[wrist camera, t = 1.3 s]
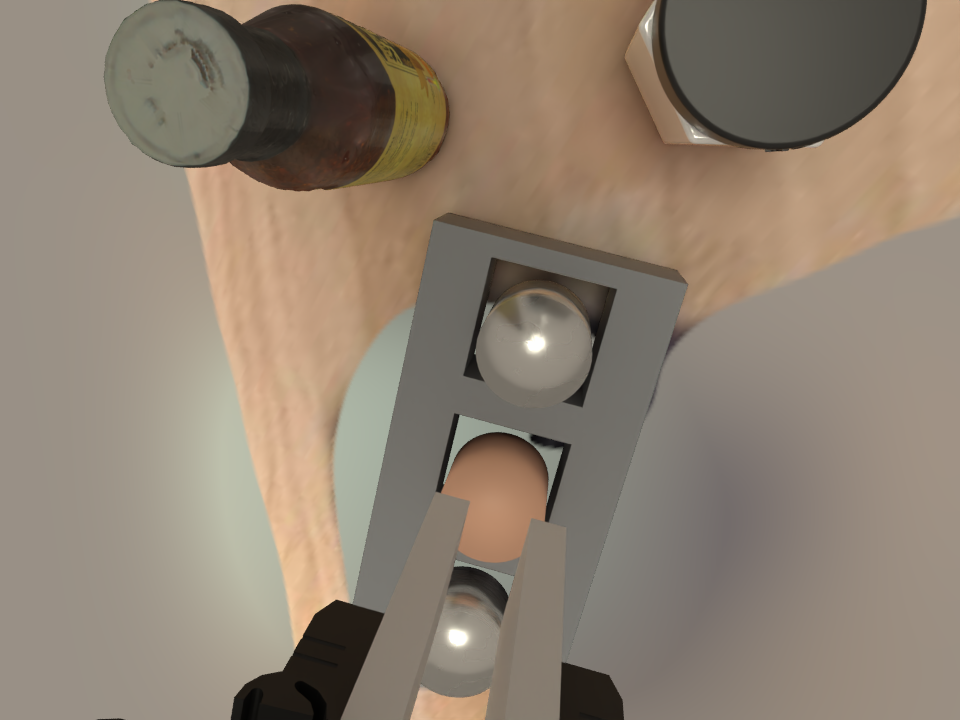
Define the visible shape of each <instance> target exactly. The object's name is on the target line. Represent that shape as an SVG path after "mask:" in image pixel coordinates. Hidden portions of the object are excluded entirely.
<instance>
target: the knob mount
mask: <svg viewBox="0 0 960 720" xmlns="http://www.w3.org/2000/svg"><path fill="white" fill-rule="evenodd" d="M497 259H501V260H505V261H509V262H513V263H517V264H521V265H524V266H528V267H532V268H536V269H540V270H544V271H548V272H552V273H556V274H560V275H564V276H568V277H572V278H576V279H580V280H583V281H587V282H591V283H595V284H599V285H603V286H607V287H610V289H609V293H608V296H607V299H606V303H605V306H604V310H603V313H602V317H601V320H600V324H599V327H598V330H597V334H596V337H595V341H594V344H593V348H592V362H591V367H590V370H589V373H588V375H587V377H586V379H585V381H584V383H583V384H582V385H581V387H580V388H579V389H578V390H577V391H576V392H575V393H574V394H573V395H572V396H571V397H569V398H568V399H566V400H564V401H563V402H561V403H558V404H556V405H553V406H550V407H545V408H525V407H520V406H517V405H514V404H511V403H509V402H507V401H505V400H504V399H502V398H500V397H499V396H498V395H497V394H495V393H494V392H493V391H492V390H491V389H490V388H489V387H488V385H487V384H486V382H485V381H484V379H483V377H482V376H481V373H480V371H479V368H478V364H477V360H476V354H474V353H475V349H476V344H477V338H478V335H479V332H480V328H481V324H482V320H483V315H484V311H485V307H486V303H487V299H488V295H489V290H490V286H491V282H492V278H493V274H494V270H495V266H496V261H497ZM687 286H688V284H687V282H686V281H685V280H684V279H683V277H682V276H681V275H680V273H679V272H678V271H677V270H674V269H670V268H666V267H662V266H658V265H654V264H650V263H646V262H642V261H638V260H634V259H630V258H626V257H622V256H618V255H614V254H610V253H606V252H602V251H598V250H594V249H590V248H586V247H582V246H578V245H574V244H570V243H566V242H562V241H558V240H554V239H551V238H547V237H543V236H539V235H535V234H531V233H527V232H523V231H519V230H515V229H511V228H507V227H503V226H499V225H495V224H491V223H487V222H483V221H479V220H475V219H471V218H467V217H463V216H459V215H455V214H451V213H447V214H445V215H443V216H441V217H439V218H437V219H435V220H434V221H433V226H432V231H431V236H430V240H429V245H428V250H427V255H426V259H425V264H424V269H423V273H422V278H421V283H420V288H419V292H418V297H417V302H416V307H415V312H414V316H413V321H412V326H411V330H410V336H409V340H408V345H407V349H406V354H405V360H404V364H403V368H402V373H401V378H400V382H399V387H398V393H397V397H396V402H395V406H394V411H393V416H392V420H391V425H390V430H389V435H388V439H387V444H386V449H385V454H384V458H383V463H382V468H381V473H380V478H379V482H378V487H377V492H376V496H375V501H374V506H373V511H372V516H371V520H370V525H369V529H368V534H367V539H366V544H365V548H364V553H363V558H362V563H361V567H360V572H359V577H358V582H357V586H356V591H355V596H354V601H353V605H357V606H360V607H364V608H367V609H371V610H374V611H378V612H381V613H385V612H386V609H387V607H388V605H389V602H390V600H391V598H392V595H393V593H394V590H395V588H396V586H397V583H398V581H399V578H400V576H401V574H402V571H403V569H404V566H405V564H406V562H407V559H408V557H409V554H410V552H411V550H412V547H413V545H414V542H415V540H416V538H417V535H418V533H419V531H420V528H421V526H422V523H423V521H424V519H425V516H426V514H427V511H428V509H429V507H430V504H431V502H432V499H433V497H434V495H435V492H438V493H441V492H442V489H443V487H444V484H443V482H444V478H445V473H446V469H447V465H448V461H449V457H450V453H451V448H452V444H453V440H454V436H455V431H456V428H457V423H458V419H459V415H463V416H467V417H471V418H475V419H479V420H482V421H486V422H489V423H493V424H497V425H501V426H504V427H508V428H512V429H516V430H519V431H523V432H527V433H531V434H534V435H538V436H542V437H546V438H549V439H553V440H557V441H561V442H564V443H565V444H564V447H563V451H562V454H561V458H560V461H559V465H558V468H557V472H556V475H555V478H554V482H553V485H552V489H551V492H550V496H549V499H548V503H547V506H546V512H545V522H548V523H552V524H555V525H559V526H562V527H566V553H565V581H564V608H563V635H562V662H564V663H566V661H567V658H568V655H569V651H570V649H571V645H572V643H573V639H574V636H575V633H576V630H577V627H578V624H579V621H580V618H581V615H582V612H583V608H584V605H585V602H586V599H587V596H588V593H589V590H590V587H591V584H592V581H593V578H594V574H595V571H596V568H597V565H598V562H599V559H600V556H601V553H602V550H603V546H604V543H605V540H606V537H607V534H608V531H609V528H610V525H611V521H612V519H613V516H614V512H615V509H616V506H617V503H618V500H619V497H620V494H621V491H622V487H623V485H624V481H625V478H626V475H627V472H628V469H629V466H630V463H631V460H632V457H633V453H634V450H635V447H636V444H637V441H638V438H639V435H640V432H641V429H642V426H643V423H644V419H645V416H646V413H647V410H648V407H649V404H650V401H651V398H652V395H653V392H654V388H655V385H656V382H657V379H658V376H659V373H660V370H661V367H662V364H663V361H664V358H665V354H666V351H667V348H668V345H669V342H670V339H671V336H672V333H673V330H674V327H675V323H676V320H677V317H678V314H679V311H680V308H681V305H682V302H683V299H684V296H685V292H686V289H687ZM519 559H520V557H518V558H516V559H513V560H510V561H506V562H500V563H490V562H483V561H478V560H475V559H472V558H470V557H468V556H466V555H464V554H463V553H461V552H460V551H457V555H456V559H455V560H458V561H462V562H466V563H469V564H473V565H476V566H480V567H484V568H487V569H491V570H495V571H498V572H502V573H505V574H509V575H513V576H515V573H516V570H517V566H518V563H519Z"/></svg>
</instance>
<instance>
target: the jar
mask: <svg viewBox="0 0 960 720" xmlns="http://www.w3.org/2000/svg"><path fill="white" fill-rule="evenodd" d="M926 6H927V0H654V1H653V2H652V4H651V6H650V7H649V9H648V10H647V12H646V14H645V15H644V17H643V18H642V20H641V22H640V23H639V25H638V27H637V30H636V32H635V34H634V36H633V38H632V40H631V42H630V44H629V46H628V48H627V50H626V52H625V55H624V56H625V60H626V62H627V64H628V67H629V69H630V71H631V73H632V75H633V78H634V80H635V82H636V84H637V86H638V88H639V91H640V93H641V95H642V97H643V99H644V102H645V104H646V106H647V108H648V110H649V112H650V115H651V117H652V119H653V121H654V123H655V125H656V128H657V130H658V132H659V134H660V136H661V139H662V141H663V142H664V143H665V144H674V145H703V146H733V147H740V148H747V149H765V152H773V151H788V150H789V149H798V148H816V147H819V146H820V145H821V144H822V143H823V142H824V140H826V139H828V138H831V137H833V136H835V135H837V134H839V133H841V132H843V131H844V130H846V129H848V128H849V127H851V126H853V125H854V124H856V123H857V122H858V121H860V120H861V119H862V118H864V117H865V116H866V115H868V114H869V113H870V112H871V111H872V110H873V109H875V108H876V107H877V106H878V105H879V104H880V103H881V102H882V100H883V99H884V98H885V97H886V96H887V95H888V94H889V93H890V91H891V90H892V89H893V88H894V86H895V85H896V84H897V82H898V81H899V79H900V78H901V76H902V75H903V73H904V71H905V70H906V68H907V66H908V64H909V63H910V61H911V58H912V56H913V54H914V52H915V50H916V47H917V44H918V42H919V39H920V36H921V32H922V28H923V24H924V20H925V14H926Z"/></svg>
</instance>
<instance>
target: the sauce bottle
mask: <svg viewBox="0 0 960 720" xmlns="http://www.w3.org/2000/svg"><path fill="white" fill-rule="evenodd" d="M104 82H105V89H106V95H107V99H108V104H109V106H110V109H111V111H112V113H113V115H114V117H115V119H116V121H117V123H118V125H119V127H120V128H121V130H122V131H123V132H124V133H125V134H126V135H127V136H128V138H129V140H130V142H131V143H132V144H133V145H135V146H136V147H138V148H139V149H140V150H141V151H142V152H143V153H145V154H146V155H148V156H150V157H151V158H153V159H154V160H157V161H159V162H161V163H164V164H167V165H171V166H174V167H185V168H201V167H211V166H217V165H222V164H226V163H228V162H230V163H231V164H232V165H233V166H235V167H236V168H238V169H239V170H240V171H242V172H244V173H245V174H247V175H249V176H250V177H252V178H253V179H255V180H257V181H258V182H261V183H264V184H266V185H268V186H271V187H275V188H277V189H283V190H293V191H311V190H314V189H324V190H331V189H338V188H344V187H351V186H356V185H363V184H370V183H376V182H382V181H388V180H393V179H397V178H402V177H404V176H407V175H409V174H412V173H413V172H415V171H417V170H418V169H420V168H422V167H423V166H424V165H425V164H426V163H427V162H428V161H430V160H432V159H433V158H434V156H435V155H436V154H437V153H438V152H439V149H440V146H441V145H442V142H443V140H444V137H445V134H446V132H447V128H448V122H449V113H450V112H449V105H448V99H447V97H446V94H445V91H444V89H443V87H442V85H441V83H440V82H439V80H438V78H437V76H436V74H435V72H434V71H433V70H432V68H431V67H430V66H429V65H428V64H427V63H426V62H425V61H424V60H423V59H422V58H421V57H419V56H418V55H417V54H415V53H414V52H412V51H410V50H408V49H406V48H404V47H402V46H400V45H398V44H396V43H393V42H391V41H389V40H387V39H386V38H384V37H381V36H379V35H377V34H374V33H373V32H371V31H369V30H367V29H365V28H364V27H360V26H357V25H355V24H353V23H351V22H349V21H346V20H345V19H343V18H341V17H339V16H335V15H333V14H331V13H328V12H326V11H323V10H321V9H318V8H315V7H311V6H306V5H296V4H291V5H281V6H278V7H274V8H271V9H269V10H267V11H265V12H263V13H261V14H260V15H258V16H256V17H254V18H253V19H251V20H249V21H247V22H245V23H243V24H242V25H241V24H240V23H239V22H238V21H237V20H235V19H234V18H233V17H231V16H230V15H228V14H226V13H225V12H223V11H220V10H218V9H215V8H212V7H209V6H206V5H200V4H196V3H193V2H188V1H183V0H159V1H155V2H153V3H149V4H146V5H144V6H143V7H141V8H140V9H138V10H136V11H135V12H134V13H133V14H131V15H130V16H129V17H127V18H125V19H124V20H123V22H122V24H121V25H120V27H119V29H118V30H117V32H116V33H115V35H114V37H113V39H112V41H111V43H110V46H109V49H108V52H107V55H106V59H105V71H104Z"/></svg>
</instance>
